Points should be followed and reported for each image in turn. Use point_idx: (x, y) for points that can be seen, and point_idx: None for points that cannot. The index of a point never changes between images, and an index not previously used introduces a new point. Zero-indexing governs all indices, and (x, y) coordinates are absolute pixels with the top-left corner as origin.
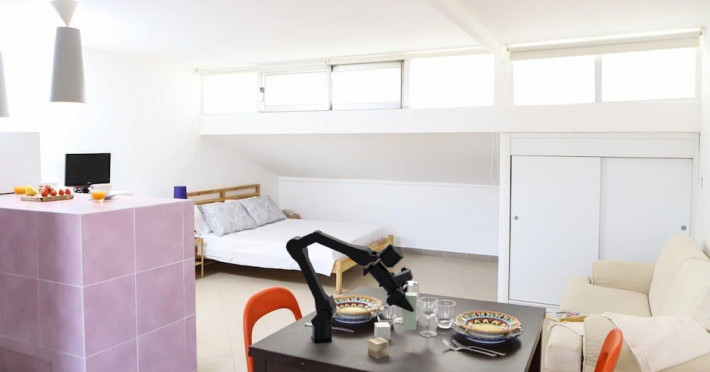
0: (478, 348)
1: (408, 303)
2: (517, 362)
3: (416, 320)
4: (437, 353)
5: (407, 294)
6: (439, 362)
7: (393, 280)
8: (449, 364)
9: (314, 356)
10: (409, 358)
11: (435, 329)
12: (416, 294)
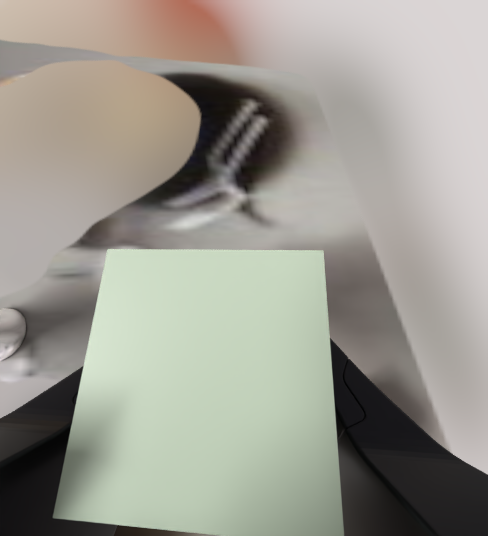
0: (226, 148)
1: (349, 362)
2: (294, 81)
3: (15, 311)
4: (283, 240)
5: (255, 431)
6: (347, 233)
7: None
8: (352, 209)
9: None
10: (344, 316)
11: (93, 251)
12: (220, 252)
